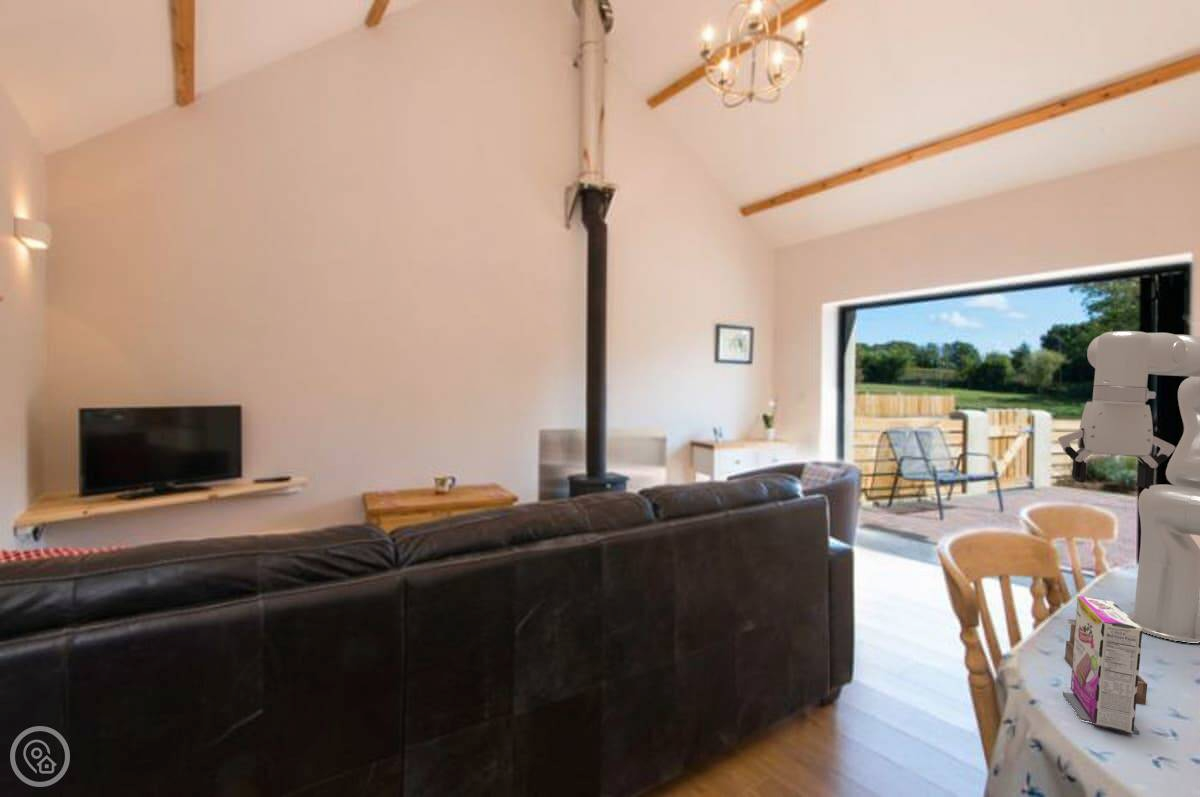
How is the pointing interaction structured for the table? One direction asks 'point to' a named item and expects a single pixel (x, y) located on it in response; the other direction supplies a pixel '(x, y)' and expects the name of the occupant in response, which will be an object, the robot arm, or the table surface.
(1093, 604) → the candy bar box
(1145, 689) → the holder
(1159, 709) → the table surface
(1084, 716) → the pad
